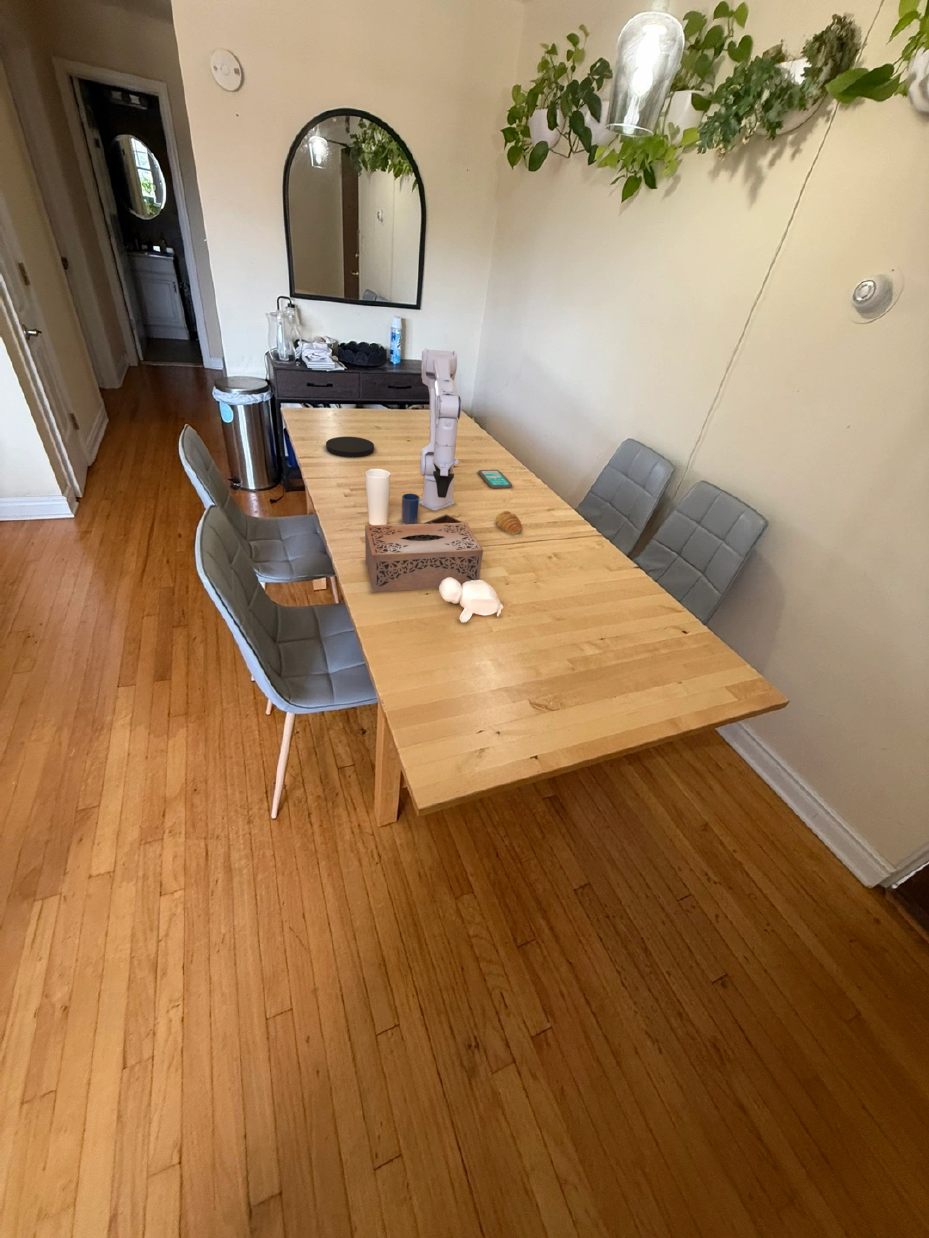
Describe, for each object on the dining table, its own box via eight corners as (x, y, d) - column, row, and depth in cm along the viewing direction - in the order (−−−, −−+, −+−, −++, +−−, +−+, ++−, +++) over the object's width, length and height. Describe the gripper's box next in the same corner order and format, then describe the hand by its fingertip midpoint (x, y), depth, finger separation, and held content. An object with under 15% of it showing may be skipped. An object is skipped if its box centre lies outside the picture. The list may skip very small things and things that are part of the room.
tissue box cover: (372, 592, 118) (372, 555, 112) (365, 561, 129) (365, 525, 123) (478, 585, 125) (483, 550, 119) (462, 556, 136) (466, 522, 130)
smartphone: (498, 469, 189) (513, 484, 178) (498, 471, 190) (513, 487, 179) (477, 469, 187) (490, 485, 176) (476, 472, 187) (490, 488, 176)
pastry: (526, 534, 151) (529, 522, 148) (507, 537, 148) (509, 525, 146) (511, 520, 157) (513, 509, 155) (492, 522, 155) (494, 511, 152)
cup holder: (409, 536, 142) (409, 528, 141) (445, 522, 152) (446, 514, 150) (428, 547, 138) (429, 538, 137) (465, 531, 148) (466, 524, 146)
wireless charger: (350, 438, 203) (350, 433, 202) (383, 450, 196) (383, 445, 195) (316, 447, 191) (315, 442, 190) (349, 461, 184) (349, 455, 183)
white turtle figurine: (482, 609, 123) (427, 594, 115) (499, 580, 119) (443, 563, 112) (493, 630, 116) (435, 616, 109) (511, 601, 112) (453, 584, 105)
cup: (410, 517, 152) (411, 492, 147) (421, 523, 150) (423, 497, 145) (398, 521, 149) (398, 496, 144) (409, 527, 146) (410, 502, 142)
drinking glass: (385, 530, 144) (385, 479, 135) (362, 526, 144) (361, 475, 135) (392, 520, 149) (393, 471, 140) (370, 516, 150) (370, 467, 141)
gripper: (461, 453, 130) (456, 503, 138) (458, 436, 142) (454, 483, 150) (433, 450, 129) (430, 501, 137) (433, 434, 141) (430, 481, 149)
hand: (441, 491), depth 143 cm, fingers open, 7 cm apart
